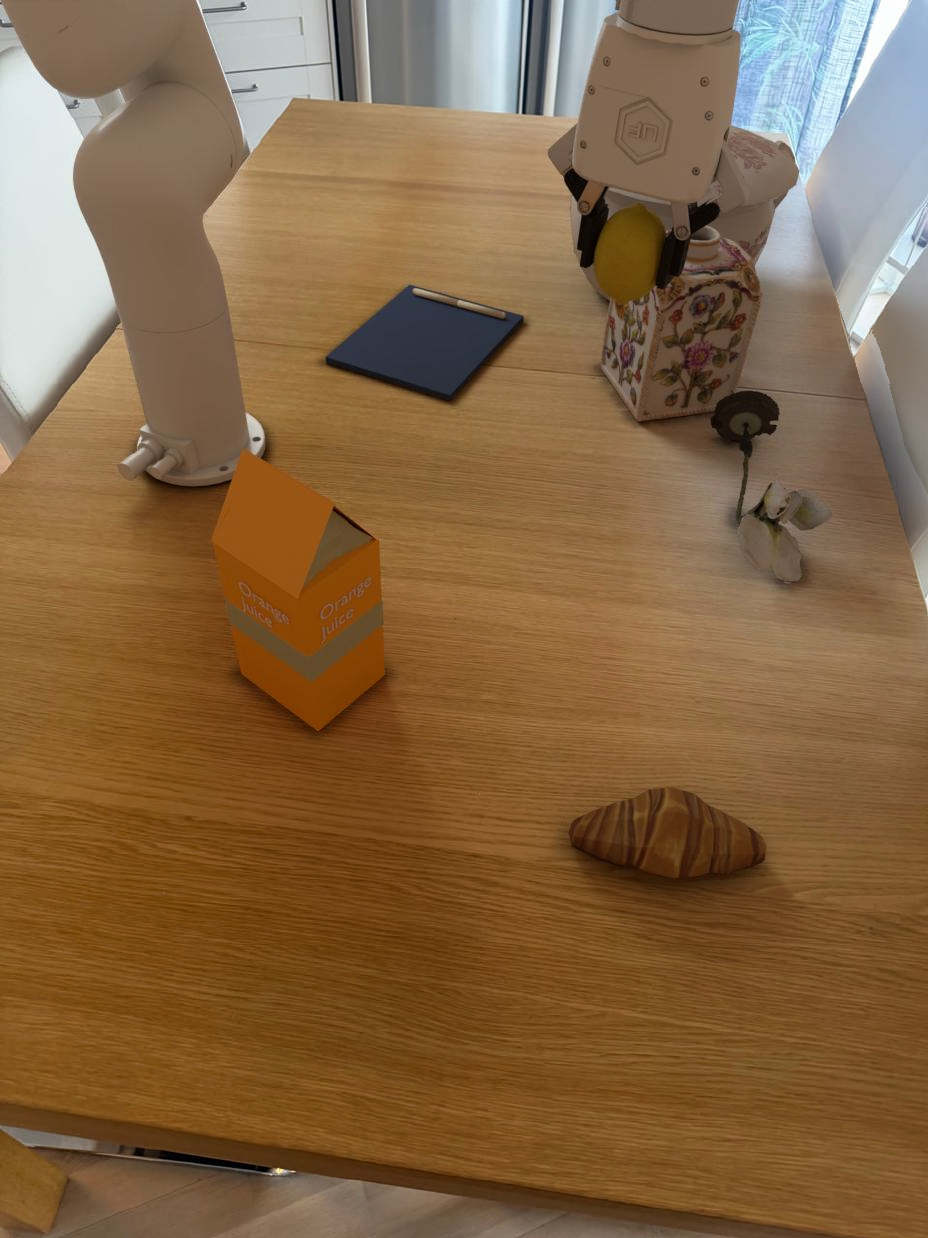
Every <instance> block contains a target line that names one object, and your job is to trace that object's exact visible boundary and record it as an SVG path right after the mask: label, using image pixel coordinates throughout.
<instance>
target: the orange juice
mask: <svg viewBox="0 0 928 1238" xmlns="http://www.w3.org/2000/svg"><path fill="white" fill-rule="evenodd" d="M230 481H231V482H230V484H229V488H228V490H227V492H226V496H225V499H224V502H223V505H222V507H221V511H220V513H219V516H218V519H217V522H216V525H215V527H214V531H213V532H212V533H213V534H212V536H211V539H210V542H212V545H213V549H214V550H213V551H214V554H215V559H216V564H217V568H218V573H219V577H220V581H221V582H220V583H221V586H222V591H223V596H224V604H225V608H226V609H225V610H226V613H227V618H228V621H229V624H230V628H231V633H232V636H233V642H234V646H235V651H236V655H237V659H238V660H237V661H238V665H239V669H240V674H241V675H242V676H243V677H244V678H246V679H247V680H249V681H250V682H251V683H252V684H254V685H255V686H257V688H259V689H260V690H261V691H263V692H265V693H266V694H267V695H268V696H270V697H271V698H272V699H274V700H275V701H276V702H278V703H279V704H280V705H282V706H283V707H285V708H286V709H287V710H289V711H290V712H291V713H292V714H294V716H297V717H298V718H299V719H300V720H302V721H303V722H304V723H306V724H307V725H309V726H310V727H311V728H313V730H315V731H317V732H320V731H321V730H322V729H323V728H324V727H326V725H328V724H329V723H330V722H331V721H332V720H334V719H335V718H336V717H337V716H338V715H339V714H341V713H342V712H343V711H345V709H347V708H348V707H349V706H351V704H353V703H354V702H355V701H356V700H357V699H358V698H360V697H361V696H362V695H363V694H364V693H365V692H367V691H368V690H369V689H370V688H371V687H372V686H374V685H375V684H376V683H377V682H379V681H380V680H381V679H382V678H383V677H384V676H385V675H386V667H385V646H384V645H385V644H384V642H385V641H384V640H385V639H384V603H383V602H384V601H383V598H382V597H383V596H382V576H381V571H382V570H381V549H380V539H379V538H378V537H377V536H375V535H373V534H371V533H370V532H368V531H367V530H366V529H364V528H363V527H362V526H360V525H359V524H358V523H357V522H355V521H354V520H353V519H352V518H350V516H348V515H347V514H345V513H344V512H343V511H342V510H340V509H339V508H338V507H337V506H335V504H336V503H335V502H334V501H332V499H329V498H327V497H326V496H324V495H322V494H321V493H319V492H318V491H316V490H314V489H312V488H311V487H309V486H308V485H306V484H304V483H302V482H301V481H299V480H297V479H296V478H295V477H293V476H290V475H289V474H287V473H286V472H284V471H283V470H281V469H279V468H277V467H276V466H274V465H272V464H271V463H270V462H267V461H266V460H264V459H262V458H259V457H257V456H255V455H254V454H252V453H250V452H249V451H247V450H245V449H244V448H243V449H242V452H241V455H240V458H239V461H238V464H237V467H236V470H235V473H234V475H233V478H232V479H231V480H230Z"/></svg>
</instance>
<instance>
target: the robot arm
mask: <svg viewBox="0 0 928 1238" xmlns="http://www.w3.org/2000/svg"><path fill="white" fill-rule="evenodd" d="M0 3H1V5H2V7H3V9H4V11H5V13H6V15H7V17H8V19H9V22H11V25H12V27H13V29H14V31H15V33H16V35H17V38H18V39H19V41H20V43H21V45H22V47H23V49H24V51H25V53H26V54H27V56H28V58H29V60H30V61H31V63H32V64H33V66H34V68H35V70H36V71H37V72H38V74H39V75H40V76H41V77H42V78H43V79H44V81H45V82H46V83H48V84H49V85H50V86H51V88H53V89H55V90H56V91H58V92H59V93H62V94H63V95H65V96H67V97H69V98H74V99H78V100H91V99H98V98H101V97H105V96H106V95H108V94H111V93H114V92H115V91H117V90H119V89H120V90H121V92H122V95H123V97H124V99H125V102H124V103H122V104H121V105H120V106H119V107H117V108H116V109H115V110H113V111H112V112H110V113H109V114H108V115H107V116H105V117H104V118H102V119H101V120H100V121H99V122H97V124H96V125H94V126H93V127H92V129H91V130H90V131H89V132H88V134H87V135H86V136H85V137H84V139H82V142H81V144H80V145H79V147H78V149H77V153H76V154H75V158H74V161H73V162H74V163H73V167H72V183H73V190H74V194H75V199H76V201H77V205H78V207H79V209H80V210H79V211H80V212H81V214H82V217H83V219H84V222H85V223H86V225H87V227H88V230H89V231H90V234H91V236H92V238H93V240H94V243H95V244H96V247H97V249H98V252H99V254H100V257H101V261H102V263H103V265H104V268H105V272H106V275H107V279H108V282H109V285H110V288H111V292H112V295H113V299H114V303H115V307H116V308H115V309H116V311H117V315H118V317H119V321H120V325H121V329H122V332H123V337H124V340H125V344H126V349H127V352H128V356H129V361H130V365H131V367H132V371H133V376H134V379H135V383H136V387H137V391H138V395H139V399H140V404H141V407H142V411H143V414H144V418H145V422H146V423H145V424H144V425H143V426H141V427H140V428H139V433H140V436H139V437H138V439H137V444H136V451H135V452H134V453H130V454H129V455H128V456H126V458H124V459H123V460H122V461H120V462H119V463H118V464H117V470H118V473H119V474H120V476H121V477H123V478H124V479H125V480H127V481H129V482H130V481H131V482H132V481H134V480H135V479H136V478H137V477H139V476H140V475H142V473H144V472H146V473H148V474H149V475H150V476H152V477H153V478H155V479H156V480H159V481H161V482H165V483H167V484H170V485H176V486H181V487H203V486H204V487H206V486H212V485H218V484H221V483H225V482H228V481H232V478H233V475H234V473H235V470H236V467H237V464H238V461H239V458H240V455H241V452H242V449H243V448H244V449H245V450H247V451H249V452H250V453H252V454H254V455H255V456H257V457H259V458H260V459H262V457H263V455H264V453H265V450H266V443H267V441H266V440H267V439H266V436H265V430H264V428H263V425H262V424H261V423H260V422H259V420H257V418H255V417H254V416H252V415H251V414H250V413H248V412H246V407H245V401H244V395H243V389H242V383H241V375H240V370H239V369H240V368H239V364H238V357H237V352H236V346H235V339H234V334H233V327H232V322H231V316H230V309H229V302H228V298H227V293H226V287H225V281H224V277H223V273H222V269H221V266H220V263H219V259H218V258H217V255H216V252H215V251H214V248H213V247H212V245H211V243H210V241H209V239H208V236H207V234H206V231H205V227H204V214H205V212H206V211H207V209H209V207H210V206H211V205H212V203H213V202H214V201H215V200H216V199H217V198H218V197H219V196H220V195H221V194H222V193H223V192H224V191H225V189H227V187H228V186H229V184H231V182H232V181H233V179H234V178H235V177H236V175H237V173H238V171H239V169H240V167H241V164H242V160H243V156H244V137H243V130H242V125H241V121H240V117H239V114H238V111H237V108H236V104H235V102H234V99H233V96H232V94H231V93H232V92H231V91H230V88H229V85H228V82H227V80H226V77H225V74H224V71H223V69H222V65H221V64H220V60H219V58H218V54H217V52H216V50H215V47H214V44H213V42H212V39H211V36H210V34H209V33H210V32H209V30H208V28H207V26H206V25H207V24H206V23H205V20H204V17H203V14H202V10H201V9H200V6H199V4H198V1H197V0H0ZM739 4H740V0H615V7H614V10H615V11H617V12H614V13H612V14H610V15H608V16H607V15H606V16H605V17H604V19H603V22H602V24H601V27H600V30H599V33H598V36H597V39H596V43H595V46H594V51H593V54H592V57H591V61H590V64H589V69H588V73H587V77H586V81H585V87H584V89H583V90H584V91H583V95H582V100H581V103H580V104H581V105H580V108H579V113H578V119H577V122H576V123H575V124H574V125H573V126H572V127H571V128H569V130H568V131H567V132H565V133H564V134H563V135H562V136H561V137H560V138H559V139H558V140H556V142H554V143H553V144H552V145H550V147H549V148H548V150H547V157H548V159H549V160H550V161H551V163H552V164H553V166H554V167H555V169H556V170H557V172H558V173H559V175H562V177H563V182H564V184H565V186H566V188H567V189H568V191H569V192H570V194H571V195H573V197H574V198H575V200H576V202H577V210H578V212H579V213H580V214H582V215H581V222H580V229H579V236H578V243H577V250H580V251H582V253H581V259H580V263H579V267H580V268H582V267H583V268H587V267H590V266H591V265H592V264H593V263H594V252H595V248H596V244H597V241H598V238H599V235H600V233H601V230H602V228H603V226H604V225H605V223H606V222H607V219H608V213H609V208H607V207H608V204H606V203H605V199H604V197H605V196H606V194H607V192H608V190H609V188H610V187H612V188H616V189H620V190H624V191H628V192H632V193H636V194H640V195H644V196H648V197H652V198H656V199H660V200H664V201H669V202H671V211H672V220H673V227H672V231H671V232H670V233H669V235H668V236H667V237H666V239H665V241H664V246H663V250H662V255H661V260H660V264H659V269H658V274H657V278H656V283H655V286H657V288H659V289H662V290H664V289H665V288H666V286H667V285H668V284H669V282H670V281H671V280H672V279H673V277H674V276H676V277H679V276H680V275H681V273H682V271H683V268H684V265H685V261H686V257H687V253H688V248H689V244H690V240H691V236H692V234H693V233H695V232H697V231H698V230H700V229H701V228H703V227H705V226H706V225H708V224H709V223H711V222H713V221H714V220H715V219H716V218H718V217H720V216H722V215H724V214H726V213H728V212H730V211H731V210H733V209H735V208H737V207H739V206H741V205H742V204H743V203H744V202H745V201H746V199H747V198H748V196H749V194H750V191H749V188H748V186H747V184H746V182H745V180H744V178H743V176H742V174H741V171H740V169H739V167H738V165H737V163H736V161H735V159H734V157H733V155H732V153H731V151H730V149H729V147H728V145H727V143H728V138H729V133H730V127H731V126H732V120H733V114H734V108H735V102H736V95H737V87H738V79H739V71H740V59H741V38H742V36H741V33H740V32H739V31H738V30H736V29H734V26H735V25H734V24H735V20H736V17H737V13H738V8H739ZM716 179H717V180H718V182H719V184H720V186H721V188H722V193H721V194H720V195H718V196H716V197H713V198H711V199H710V200H708V201H706V202H705V203H703V204H702V205H700V204H699V200H700V199H701V198H702V197H703V196H704V195H705V194H706V193H707V191H708V189H709V187H710V185H711V183H713V182H715V181H716Z"/></svg>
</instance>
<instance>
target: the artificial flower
mask: <svg viewBox="0 0 928 1238" xmlns="http://www.w3.org/2000/svg"><path fill="white" fill-rule="evenodd" d="M780 415H781V413H780V408H779V404H778V402H777V401H775V400H774V399H773V398H772V396H769V395H767V393H764V392H761V391H757V390H741V391H736V392H735V393H733V394H731V395H729V396H726V397H724V398H723V399H722V400H719V402H718V403H717V404H716V407H715V410H714V411H713V415H712V416H710V426H711V428H712V429H715V431H716V433H717V435H718V436H719V437H720V438H721V439H723V440H724V441H726V442H731V441H736V442H739V445H738V447H739V450H740V451H741V452H742V453H743V456H744V459H743V461H742V472H743V475H742V479H741V486H740V491H739V498H738V501H737V508H736V510H735V520H736V521H737V523H738V524H739V525H738V527H737V530H736V532H737V536H738V542H739V549H740V551H741V553H742V555H743V557H744V559H746V560H747V562H748V563H749V564H750V565H751V566H752V567H753V569H754V570H756V571H762V570H766V569H768V568H769V567H771V569H772V571H773V573H774V575H775V577H776V578H777V579H779V580H781V581H783V583H784V584H785V585H787V584H788V585H790V584H791V582H798V581H800V579H801V578H802V577H803V573H802V568H801V560H802V555H803V553H802V552H801V550H800V549H799V543H798V540H797V538H796V537H795V536H793V535H792V534H791V533H790V532H789V530H787V527H786V526H784V525H785V524H787V523H788V522H790V523H791V524H792V525H793V526H794V527H795V528H797V529H798V530H799V531H811V530H814V529H816V528H818V527H820V526H823V525H824V524H827V523H828V522H829V521H830V520H831V519H832V518H833V516H834V514H833V511H832V510H831V509H830V508H829V507H828V506H826V504H825V503H824V501H823V500H822V498H821V496H820V494H819V493H818V492H817V491H816V490H814V489H812V488H806V489H799V490H792V491H790V492H789V491H787V490H786V487H783V485H782V483H781V482H780V481H779V480H778V477H777V476H778V473H776V474H775V476H774V479H773V481H772V482H770V483H769V484H768V487H767V488H766V489H765V492H764V493H763V495H762V497H761V498H760V500H759V502H758V503H757V504H756V505H755V506H754V507H753V508H751V509H749V511H748V512H746V513H745V514H743V515H742V509H743V508H742V507H743V504H744V500H745V497H744V496H745V495H746V491H747V484H748V479H749V461H750V460H749V459H751V457H752V456H753V451H754V449H753V443H752V442H753V441H752V440H753V439H754V438H755V437H756V436H758V437H760V436H762V435H765V434H766V435H768V436H772V435H773V434H774V433H775V432H776V431H777V429H778V428H777V427H778V424H776V423H775V424H772V423H771V422H779V421H780V418H779V416H780ZM716 453H718V450H717V451H716ZM779 523H782V524H779Z"/></svg>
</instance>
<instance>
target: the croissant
mask: <svg viewBox="0 0 928 1238" xmlns="http://www.w3.org/2000/svg"><path fill="white" fill-rule="evenodd" d="M568 836H569V841H570V844H571V847H572V848H575V849H576V850H578V851H580V852H582V853H584V854H586V855H588V856H590V857H593V858H595V859H597V860H601V861H603V862H605V863H609V864H610V865H614V866H630V868H631V867H632V868H634V869H637V870H639V871H642V872H644V873H645V872H646V873H649V874H653V875H656V876H661V877H664V878H669V879H681V878H691V877H692V878H693V877H700V876H703V875H707V874H711V875H716V876H718V875H725V874H728V873H732V872H738V871H742V870H745V869H749V868H751V867H754V866H757V865H760V864H762V863H763V862H765V860H766V854H767V843H766V841H765V838H764V836H762V835H761V834H760V833H758V832H757V831H756V830H755V829H753V828H752V827H751V826H749V825H747V824H746V823H745V822H743V821H741V820H739V819H737V818H735V817H733V816H731V815H730V814H728V813H727V812H724V811H722V810H720V809H718V808H716V807H714V806H711V805H710V804H708V803H707V802H705V801H704V800H703V799H702V798H700V797H699V796H698V795H697V794H696V793H694V792H690V791H688V790H683V789H680V788H676V787H672V786H670V787H660V788H649V789H647V790H645V791H644V792H641V793H640V794H637V795H636V796H634V797H632V798H628V799H627V798H626V799H623V800H618V801H615V802H613V803H611V804H609V805H606V806H603V807H599V808H596V809H593V810H591V811H590V812H587V813H585V814H582V815H581V816H579V817H577V818H575V819H573V820H572V822H570V826H569V829H568Z"/></svg>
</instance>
